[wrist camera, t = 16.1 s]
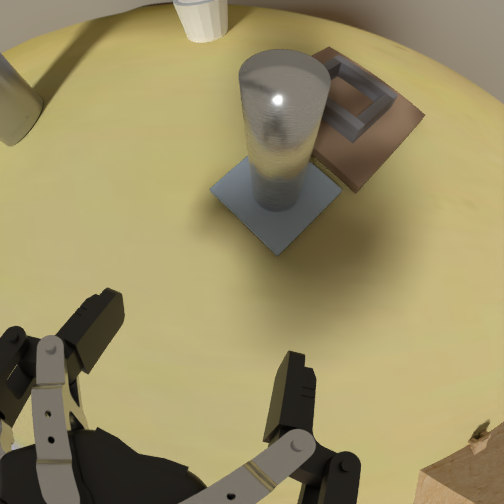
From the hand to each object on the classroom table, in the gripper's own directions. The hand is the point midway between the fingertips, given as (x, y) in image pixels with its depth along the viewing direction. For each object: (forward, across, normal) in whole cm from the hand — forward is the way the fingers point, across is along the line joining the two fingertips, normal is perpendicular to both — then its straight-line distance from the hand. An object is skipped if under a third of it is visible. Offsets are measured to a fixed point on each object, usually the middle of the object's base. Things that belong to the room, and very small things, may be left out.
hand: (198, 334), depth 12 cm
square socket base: (+23, -5, -11) cm, 26 cm away
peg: (+14, -1, -2) cm, 15 cm away
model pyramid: (-3, -34, +17) cm, 38 cm away
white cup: (+31, +14, -18) cm, 38 cm away
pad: (+15, -1, -2) cm, 15 cm away
